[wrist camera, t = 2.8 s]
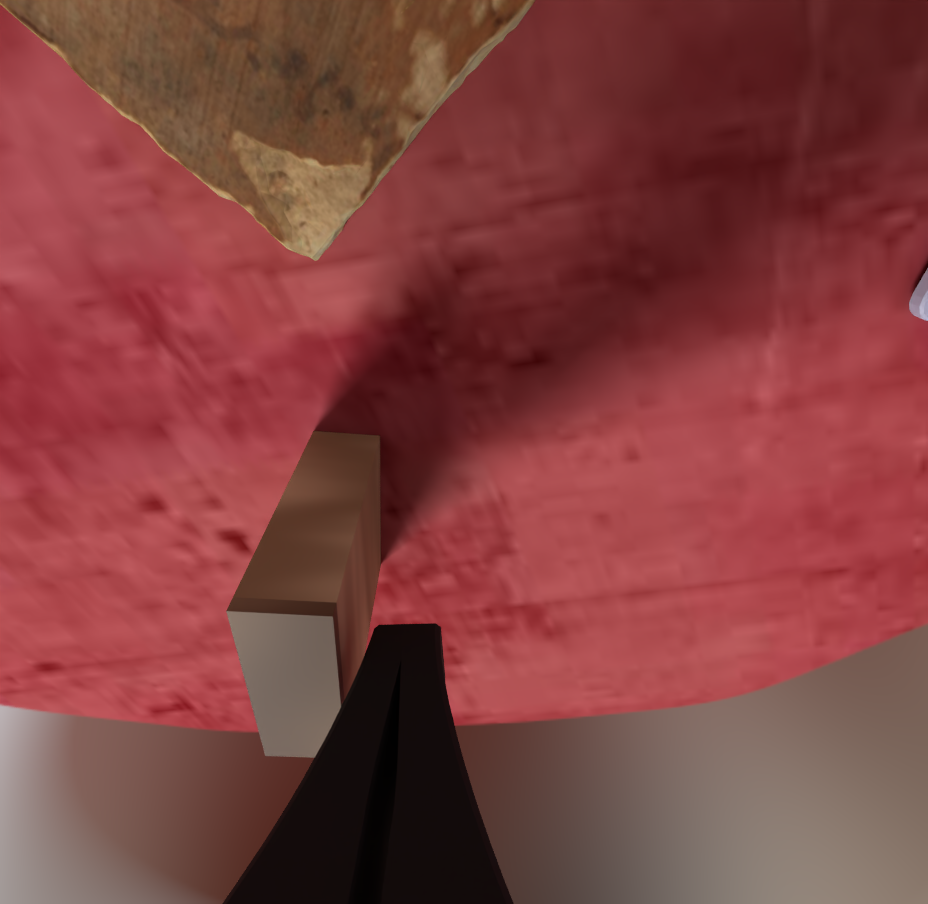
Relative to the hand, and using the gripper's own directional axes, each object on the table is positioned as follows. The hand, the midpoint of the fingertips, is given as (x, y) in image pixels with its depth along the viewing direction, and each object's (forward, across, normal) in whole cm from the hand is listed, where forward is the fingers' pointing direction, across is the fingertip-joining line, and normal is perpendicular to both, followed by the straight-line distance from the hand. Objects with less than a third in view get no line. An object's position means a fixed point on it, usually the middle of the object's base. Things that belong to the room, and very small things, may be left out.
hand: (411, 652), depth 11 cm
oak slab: (+5, +2, 0) cm, 5 cm away
